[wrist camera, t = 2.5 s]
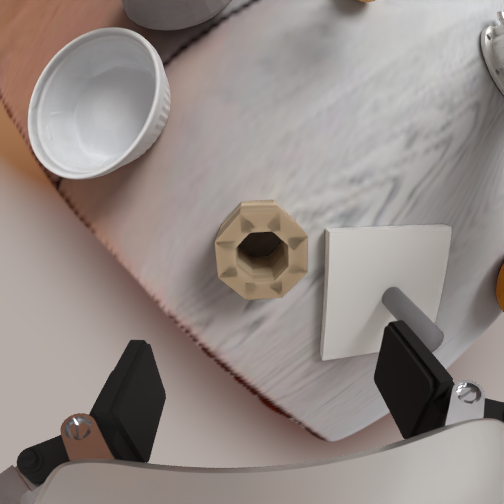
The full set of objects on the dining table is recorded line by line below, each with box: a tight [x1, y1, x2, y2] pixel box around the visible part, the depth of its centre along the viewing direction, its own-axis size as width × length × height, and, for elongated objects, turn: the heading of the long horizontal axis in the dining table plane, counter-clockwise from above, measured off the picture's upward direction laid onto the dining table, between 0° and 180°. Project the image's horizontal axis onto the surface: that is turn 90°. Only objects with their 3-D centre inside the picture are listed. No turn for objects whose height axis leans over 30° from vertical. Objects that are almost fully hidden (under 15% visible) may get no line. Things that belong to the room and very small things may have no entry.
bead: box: [215, 200, 308, 300], centre depth 25 cm, size 7×7×6 cm
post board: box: [320, 224, 452, 361], centre depth 25 cm, size 15×15×10 cm
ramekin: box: [28, 27, 171, 180], centre depth 20 cm, size 13×13×7 cm
